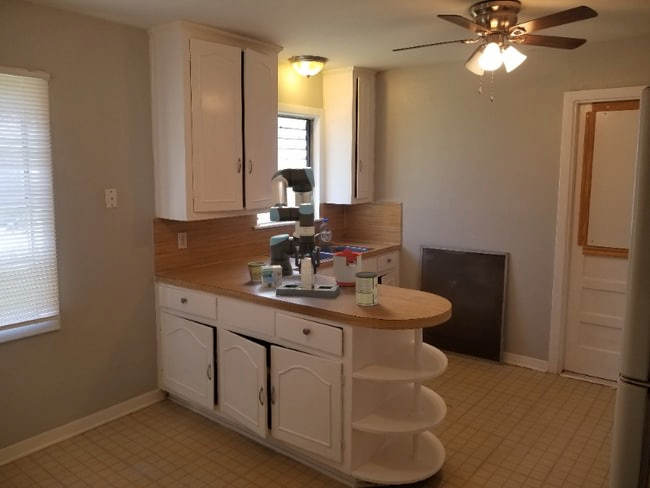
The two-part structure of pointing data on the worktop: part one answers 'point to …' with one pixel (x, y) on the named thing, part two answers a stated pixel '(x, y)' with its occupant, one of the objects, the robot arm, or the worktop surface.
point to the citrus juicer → (346, 267)
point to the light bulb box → (271, 276)
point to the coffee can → (366, 288)
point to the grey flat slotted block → (308, 290)
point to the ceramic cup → (255, 270)
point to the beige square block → (307, 273)
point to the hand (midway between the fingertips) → (307, 280)
